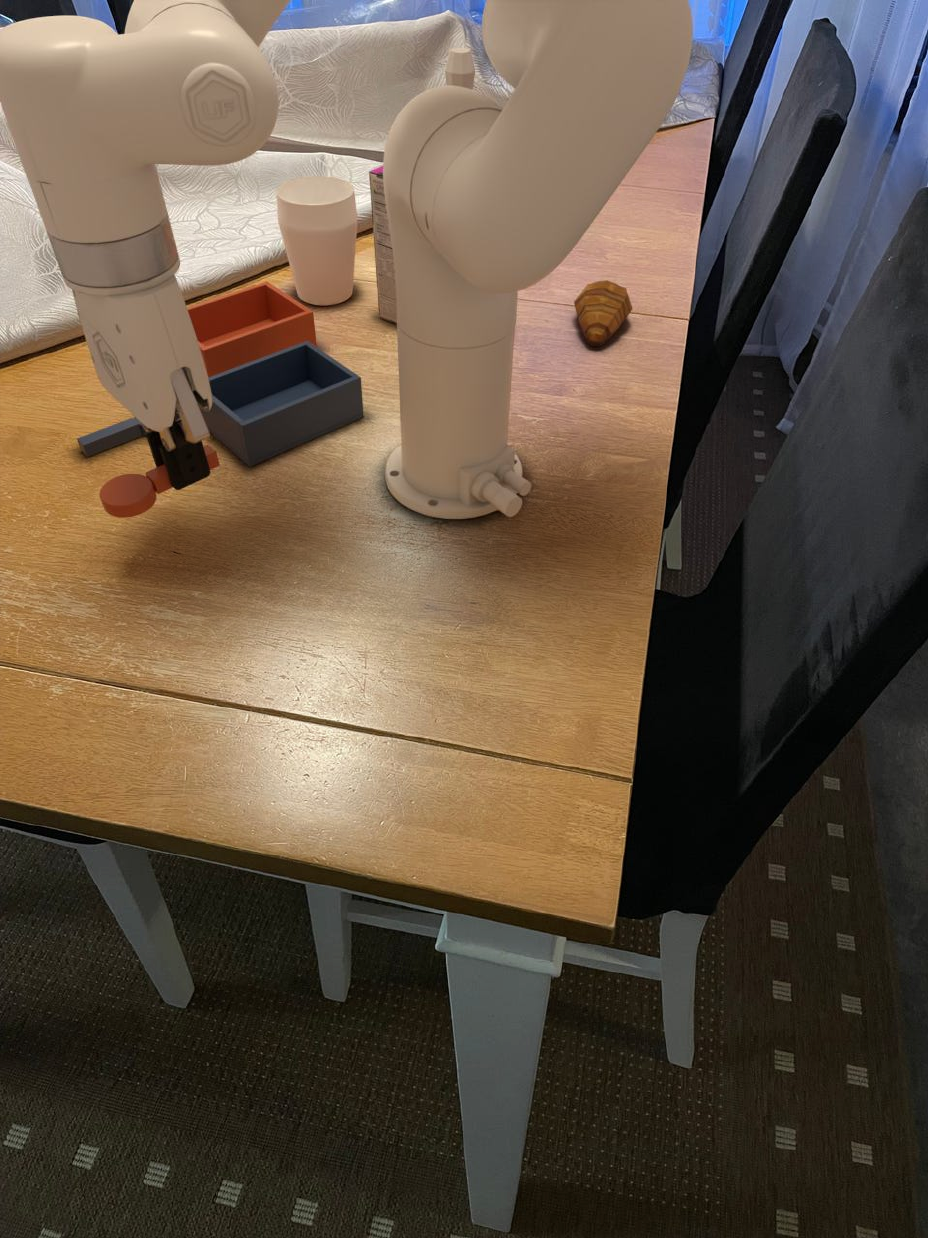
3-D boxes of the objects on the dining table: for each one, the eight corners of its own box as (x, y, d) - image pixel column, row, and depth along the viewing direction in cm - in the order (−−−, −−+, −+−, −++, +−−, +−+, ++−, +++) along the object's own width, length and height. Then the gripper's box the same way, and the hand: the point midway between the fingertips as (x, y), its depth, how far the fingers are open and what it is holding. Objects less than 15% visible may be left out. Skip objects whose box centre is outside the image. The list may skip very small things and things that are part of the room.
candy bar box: (434, 284, 109) (434, 140, 97) (466, 296, 107) (470, 150, 95) (375, 317, 102) (366, 168, 91) (408, 331, 100) (403, 179, 89)
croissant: (625, 354, 98) (632, 312, 94) (565, 347, 99) (569, 305, 95) (633, 300, 107) (640, 259, 103) (578, 293, 108) (583, 253, 104)
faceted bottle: (452, 226, 121) (454, 40, 105) (490, 237, 119) (498, 49, 103) (424, 241, 118) (422, 50, 102) (463, 253, 115) (466, 60, 99)
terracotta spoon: (203, 451, 73) (199, 436, 72) (228, 472, 71) (224, 458, 70) (95, 500, 68) (89, 486, 67) (118, 525, 66) (112, 510, 65)
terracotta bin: (317, 349, 97) (313, 311, 94) (211, 390, 91) (203, 350, 88) (272, 318, 102) (266, 281, 98) (168, 355, 96) (159, 316, 92)
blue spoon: (93, 463, 82) (89, 451, 81) (75, 444, 84) (70, 432, 83) (186, 427, 86) (183, 414, 85) (166, 409, 88) (163, 397, 87)
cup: (331, 318, 102) (321, 212, 93) (272, 297, 105) (257, 193, 97) (377, 289, 107) (371, 186, 99) (319, 270, 111) (309, 169, 102)
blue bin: (363, 417, 88) (361, 377, 85) (249, 467, 82) (242, 425, 78) (311, 379, 93) (307, 340, 89) (200, 424, 86) (191, 383, 83)
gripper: (13, 227, 59) (99, 451, 73) (116, 309, 51) (191, 544, 65) (116, 197, 63) (180, 416, 76) (228, 270, 55) (277, 501, 68)
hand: (185, 474), depth 70 cm, fingers closed on terracotta spoon, 1 cm apart
